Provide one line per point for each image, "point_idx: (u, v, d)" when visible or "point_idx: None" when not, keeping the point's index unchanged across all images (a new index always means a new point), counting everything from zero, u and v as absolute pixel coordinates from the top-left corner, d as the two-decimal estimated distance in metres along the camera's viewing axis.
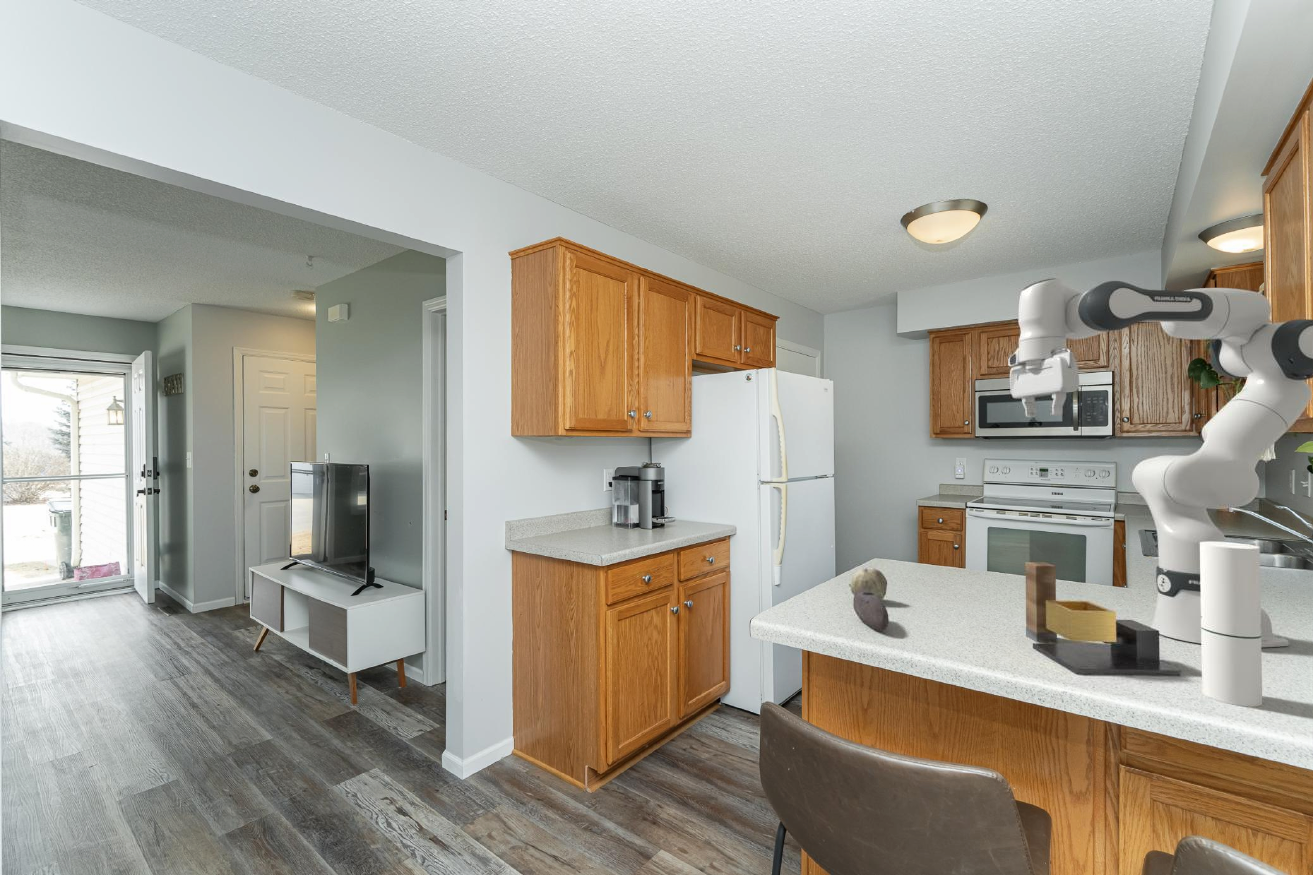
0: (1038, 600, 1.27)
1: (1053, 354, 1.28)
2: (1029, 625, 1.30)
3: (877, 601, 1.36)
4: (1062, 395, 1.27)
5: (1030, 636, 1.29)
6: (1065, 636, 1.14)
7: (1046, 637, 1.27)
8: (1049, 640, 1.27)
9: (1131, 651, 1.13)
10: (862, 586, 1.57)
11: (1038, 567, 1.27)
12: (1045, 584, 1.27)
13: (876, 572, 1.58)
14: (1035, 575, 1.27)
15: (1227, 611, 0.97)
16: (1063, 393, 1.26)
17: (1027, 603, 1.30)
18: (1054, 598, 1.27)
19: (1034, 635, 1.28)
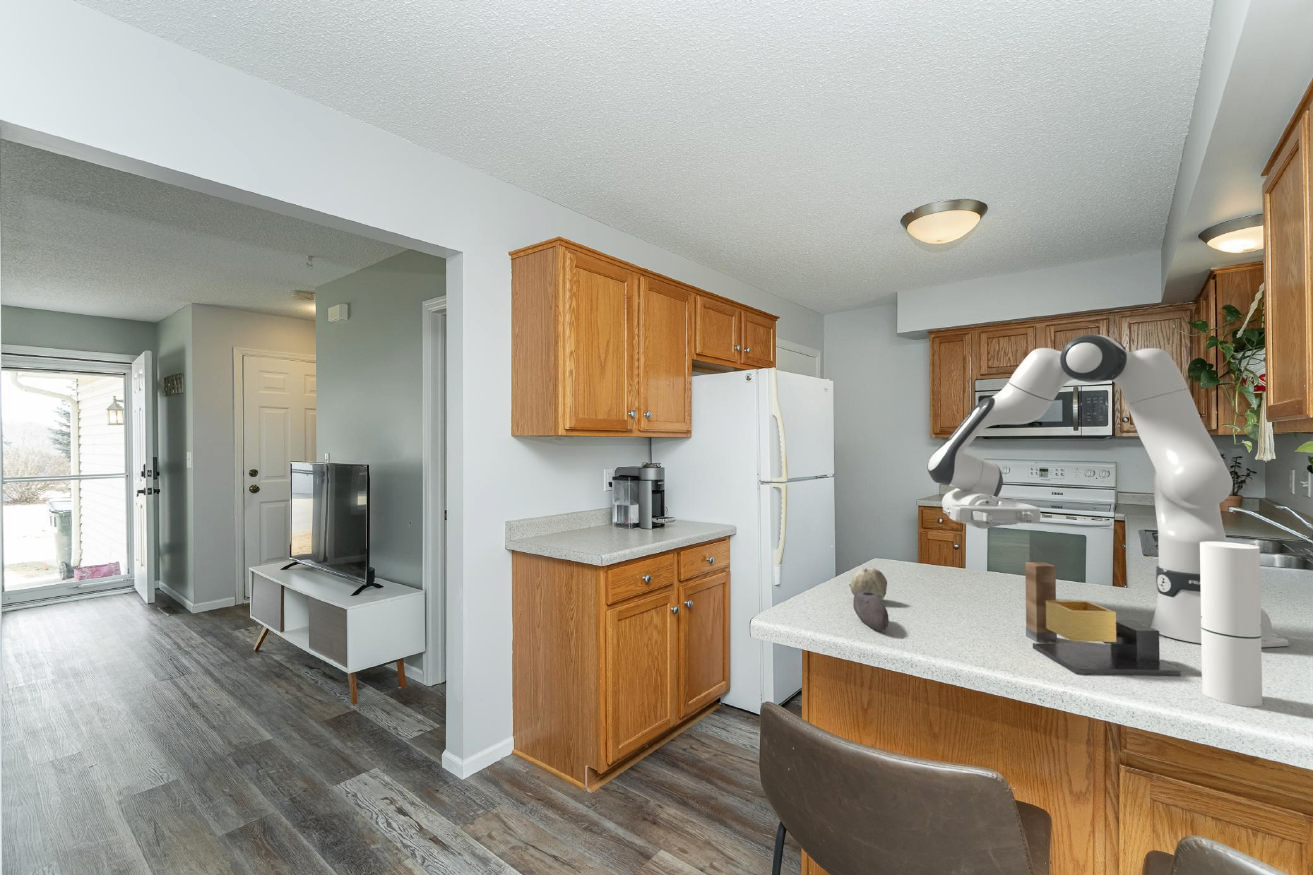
0: (1038, 600, 1.27)
1: None
2: (1029, 625, 1.30)
3: (877, 601, 1.36)
4: (973, 514, 1.45)
5: (1030, 636, 1.29)
6: (1065, 636, 1.14)
7: (1046, 637, 1.27)
8: (1049, 640, 1.27)
9: (1131, 651, 1.13)
10: (862, 586, 1.57)
11: (1038, 567, 1.27)
12: (1045, 584, 1.27)
13: (876, 572, 1.58)
14: (1035, 575, 1.27)
15: (1227, 611, 0.97)
16: (972, 513, 1.46)
17: (1027, 603, 1.30)
18: (1054, 598, 1.27)
19: (1034, 635, 1.28)
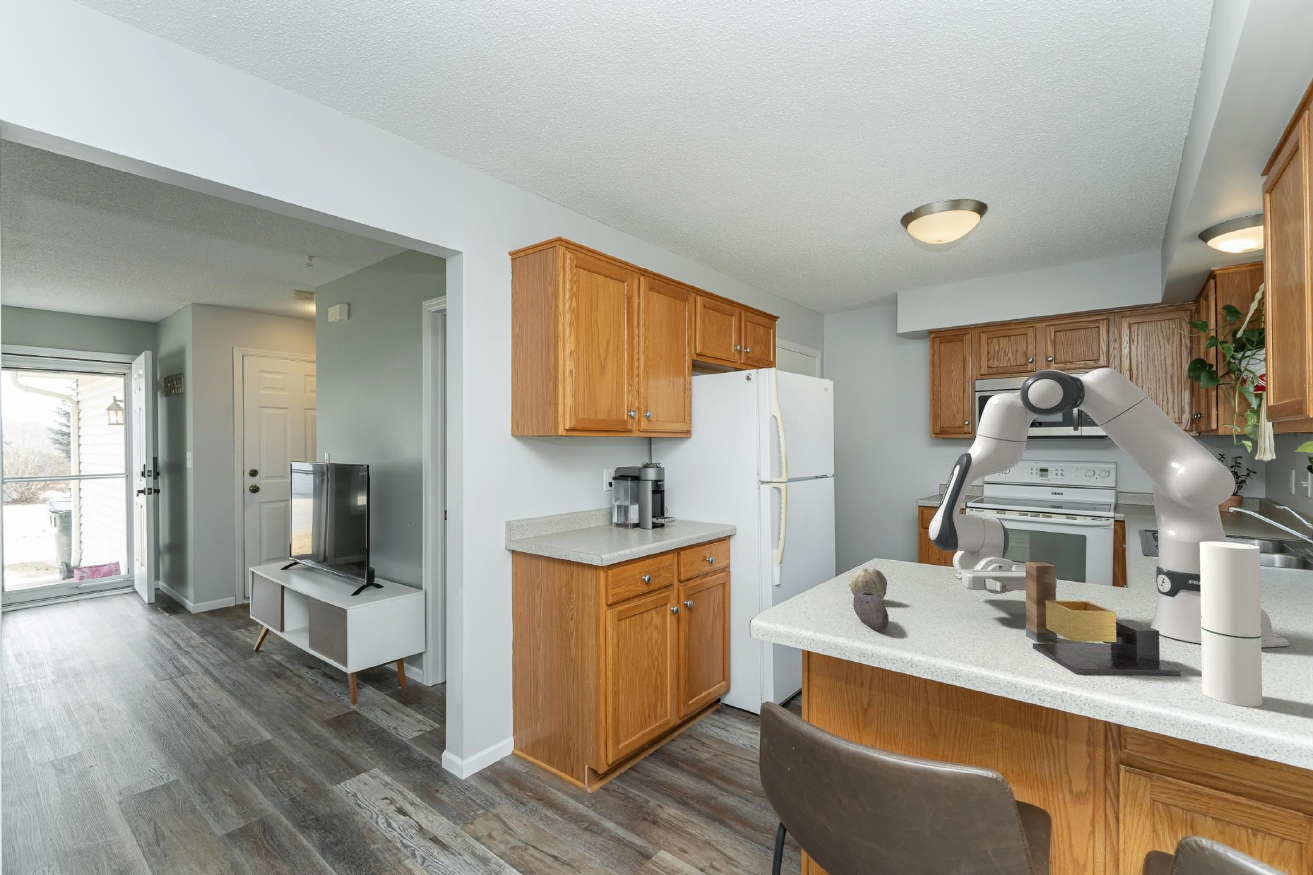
0: (1038, 600, 1.27)
1: None
2: (1029, 625, 1.30)
3: (877, 601, 1.36)
4: (986, 582, 1.39)
5: (1030, 636, 1.29)
6: (1065, 636, 1.14)
7: (1046, 637, 1.27)
8: (1049, 640, 1.27)
9: (1131, 651, 1.13)
10: (862, 586, 1.57)
11: (1038, 567, 1.27)
12: (1045, 584, 1.27)
13: (876, 572, 1.57)
14: (1035, 575, 1.27)
15: (1227, 611, 0.97)
16: (985, 581, 1.40)
17: (1027, 603, 1.30)
18: (1054, 598, 1.27)
19: (1034, 635, 1.28)
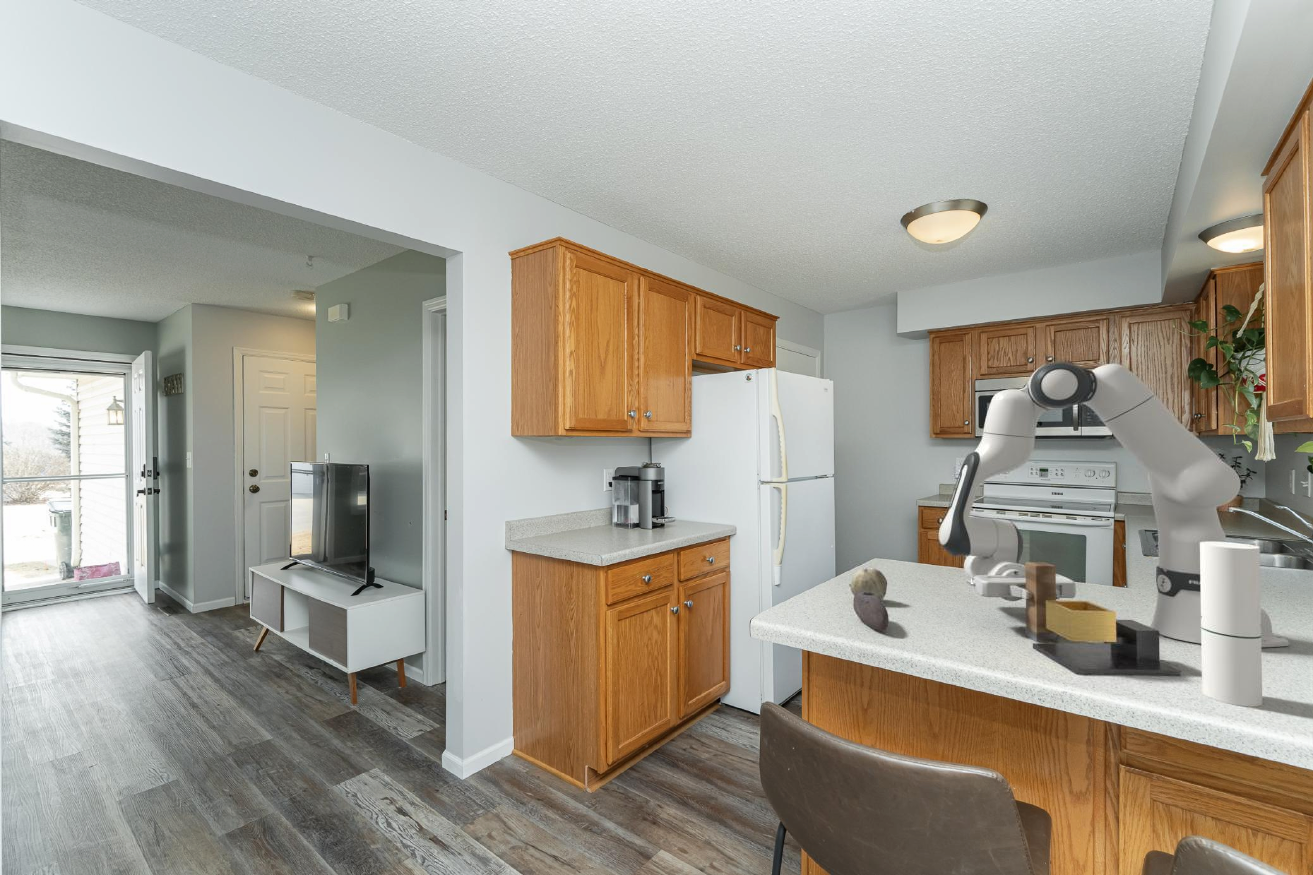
0: (1038, 600, 1.27)
1: None
2: (1029, 625, 1.30)
3: (877, 601, 1.36)
4: (1011, 589, 1.32)
5: (1030, 636, 1.29)
6: (1065, 636, 1.14)
7: (1046, 637, 1.27)
8: (1049, 640, 1.27)
9: (1131, 651, 1.13)
10: (862, 586, 1.57)
11: (1038, 567, 1.27)
12: (1045, 584, 1.27)
13: (876, 572, 1.58)
14: (1035, 575, 1.27)
15: (1227, 611, 0.97)
16: (1009, 587, 1.33)
17: (1027, 603, 1.30)
18: (1054, 598, 1.27)
19: (1034, 635, 1.28)
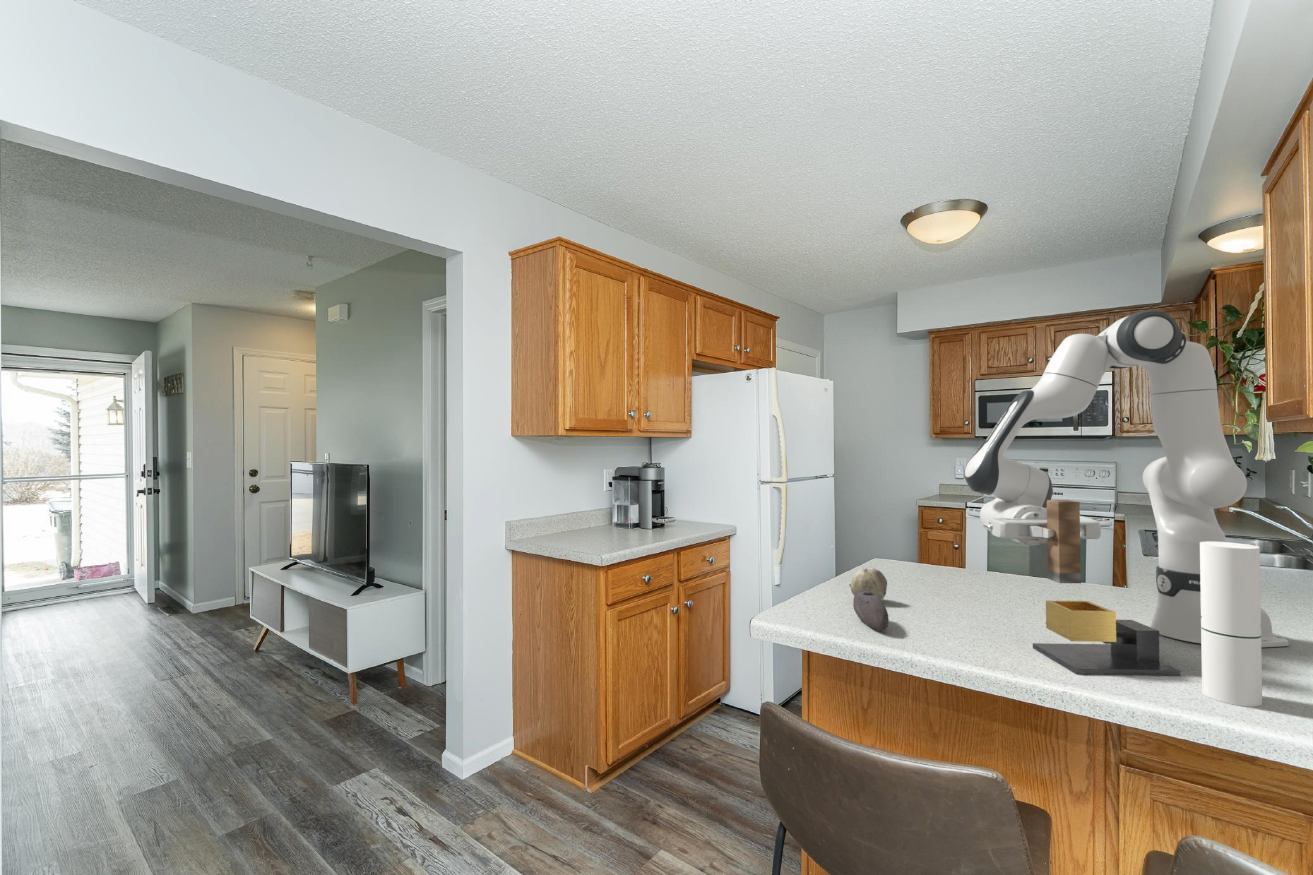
0: (1060, 538, 1.19)
1: None
2: (1051, 566, 1.21)
3: (877, 601, 1.36)
4: (1031, 529, 1.24)
5: (1052, 578, 1.21)
6: (1065, 636, 1.14)
7: (1069, 578, 1.18)
8: (1073, 581, 1.18)
9: (1131, 651, 1.13)
10: (862, 586, 1.57)
11: (1061, 503, 1.19)
12: (1068, 522, 1.19)
13: (876, 572, 1.58)
14: (1057, 512, 1.19)
15: (1226, 611, 0.97)
16: (1030, 528, 1.24)
17: (1048, 544, 1.22)
18: (1078, 536, 1.18)
19: (1056, 576, 1.19)
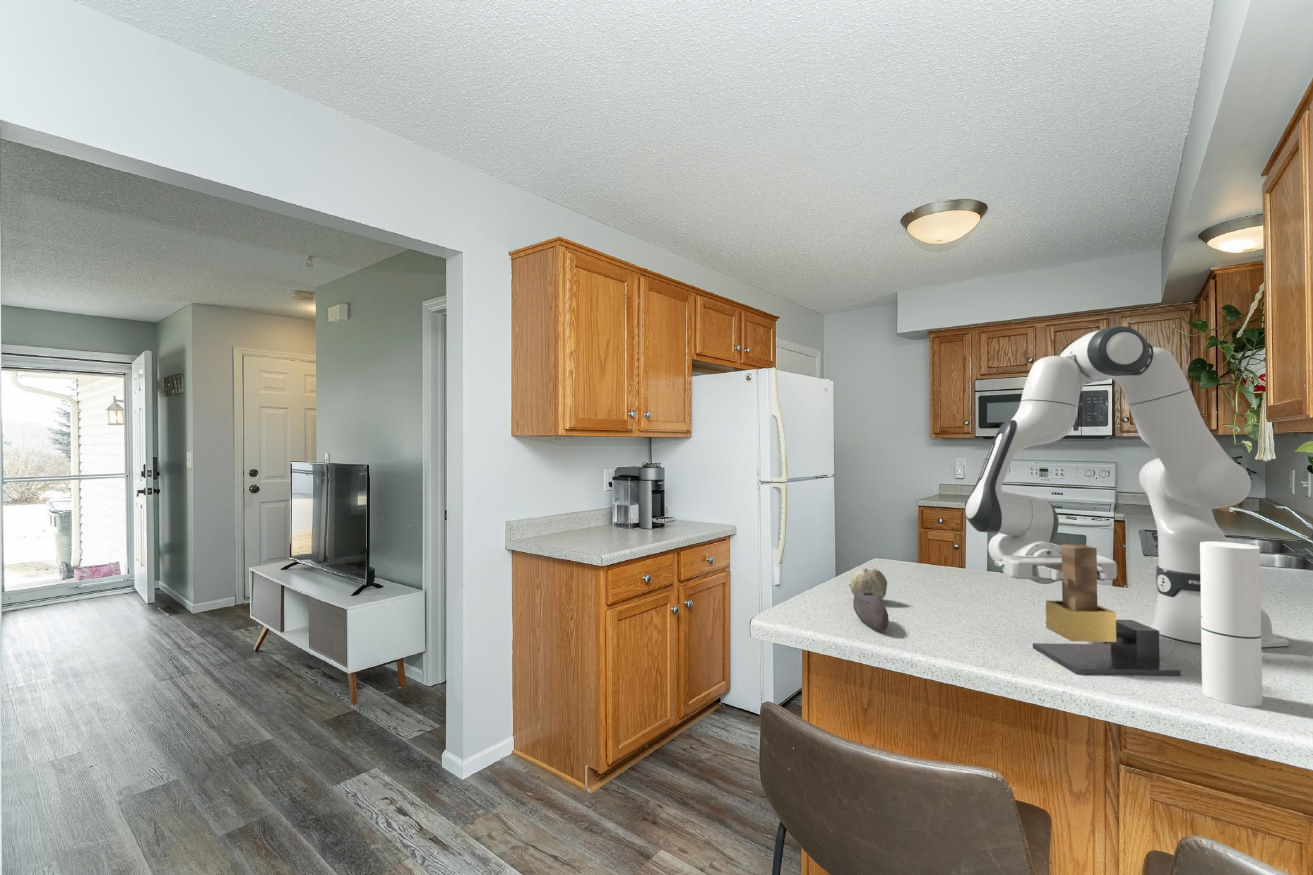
0: (1077, 586, 1.14)
1: None
2: None
3: (877, 601, 1.36)
4: (1038, 569, 1.19)
5: None
6: (1065, 636, 1.14)
7: None
8: None
9: (1131, 651, 1.13)
10: (862, 586, 1.57)
11: (1077, 549, 1.14)
12: (1085, 568, 1.14)
13: (876, 572, 1.58)
14: (1073, 558, 1.14)
15: (1227, 611, 0.97)
16: (1037, 568, 1.20)
17: (1063, 590, 1.17)
18: (1095, 584, 1.14)
19: None
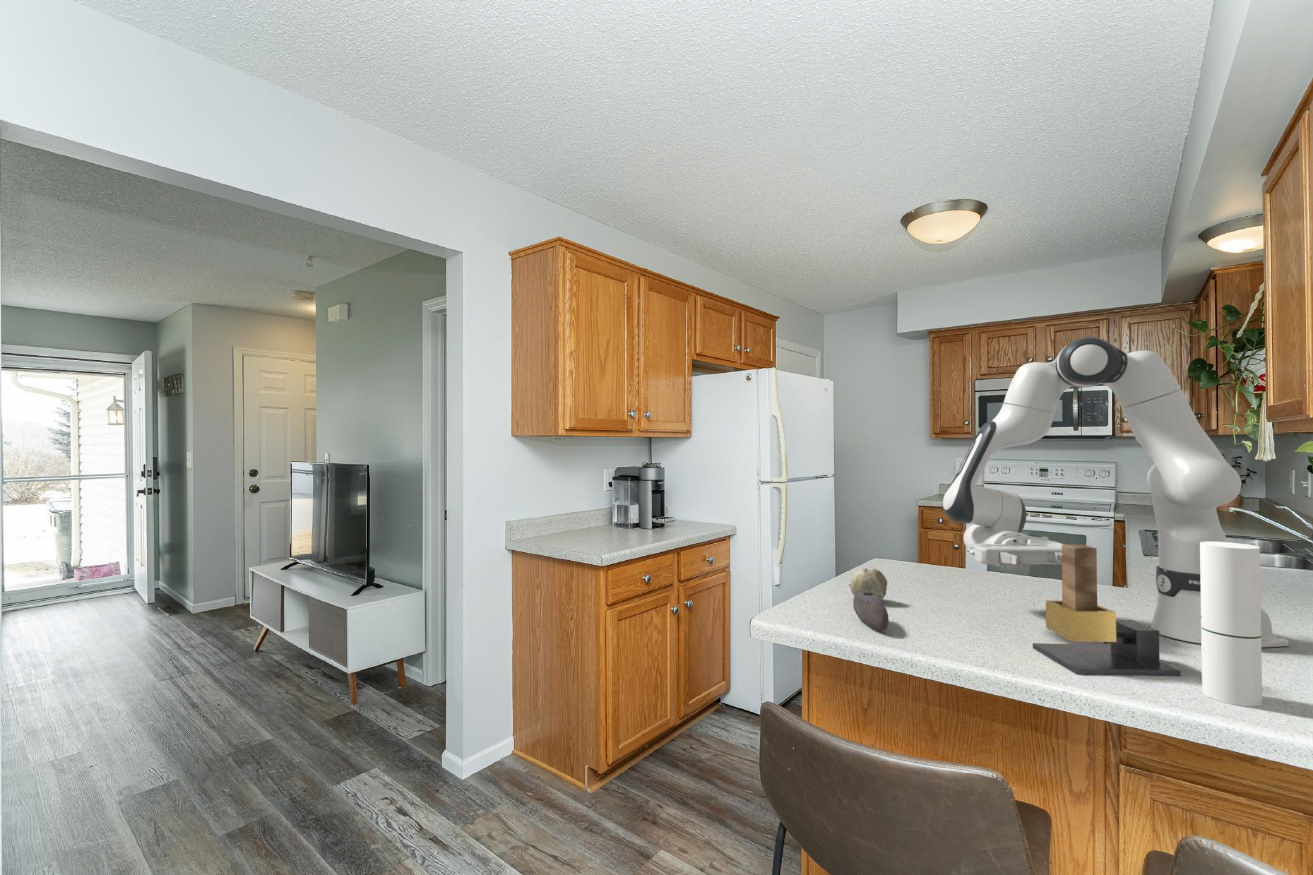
0: (1077, 586, 1.14)
1: None
2: None
3: (877, 601, 1.36)
4: (1001, 556, 1.32)
5: None
6: (1065, 636, 1.14)
7: None
8: None
9: (1131, 651, 1.13)
10: (862, 586, 1.57)
11: (1077, 549, 1.14)
12: (1085, 568, 1.14)
13: (876, 572, 1.58)
14: (1073, 558, 1.14)
15: (1227, 611, 0.97)
16: (1000, 554, 1.33)
17: (1063, 590, 1.17)
18: (1095, 584, 1.14)
19: None
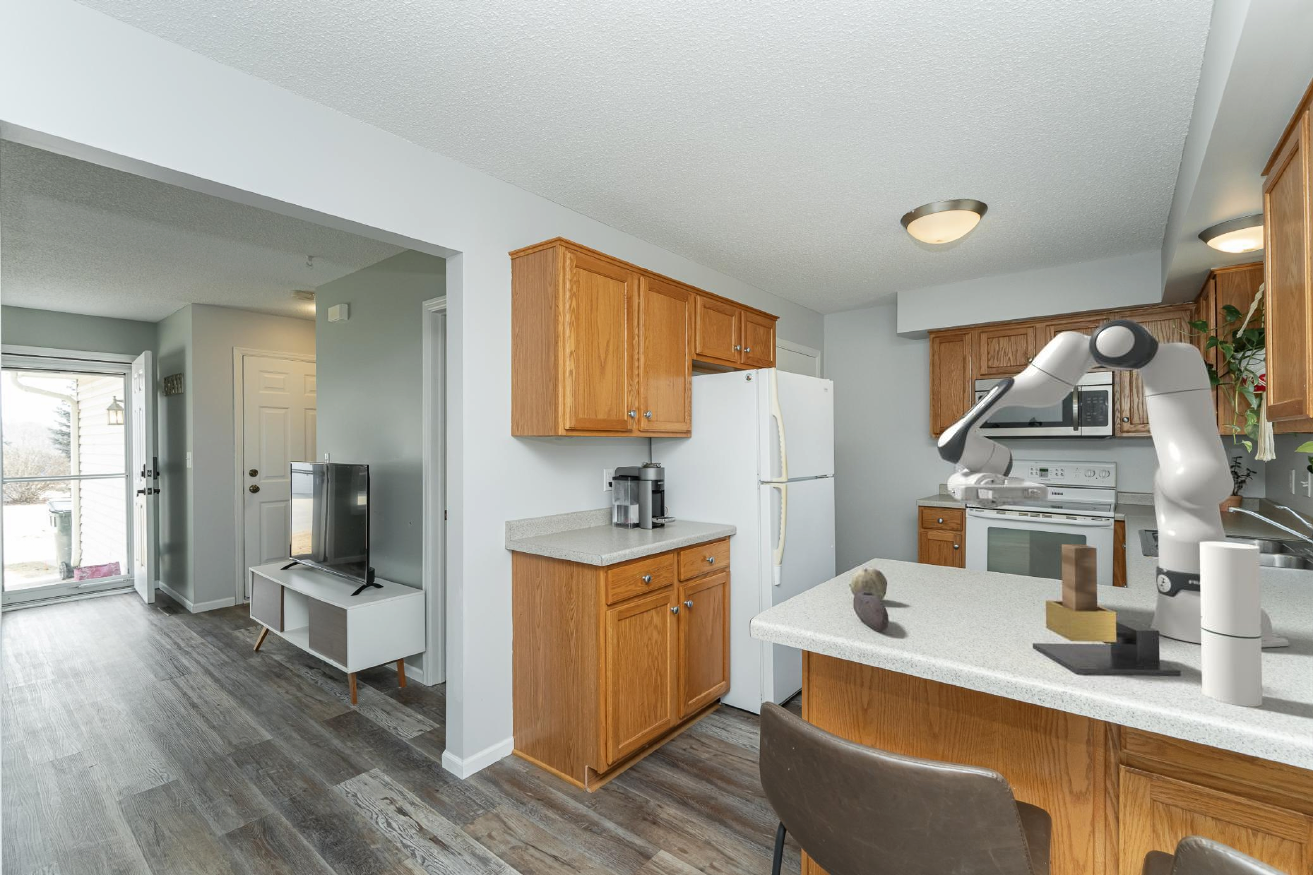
0: (1077, 586, 1.14)
1: None
2: None
3: (877, 601, 1.36)
4: (979, 492, 1.42)
5: None
6: (1065, 636, 1.14)
7: None
8: None
9: (1131, 651, 1.13)
10: (862, 586, 1.57)
11: (1077, 549, 1.14)
12: (1085, 568, 1.14)
13: (876, 572, 1.57)
14: (1073, 558, 1.14)
15: (1226, 611, 0.97)
16: (977, 491, 1.43)
17: (1063, 590, 1.17)
18: (1095, 584, 1.14)
19: None
